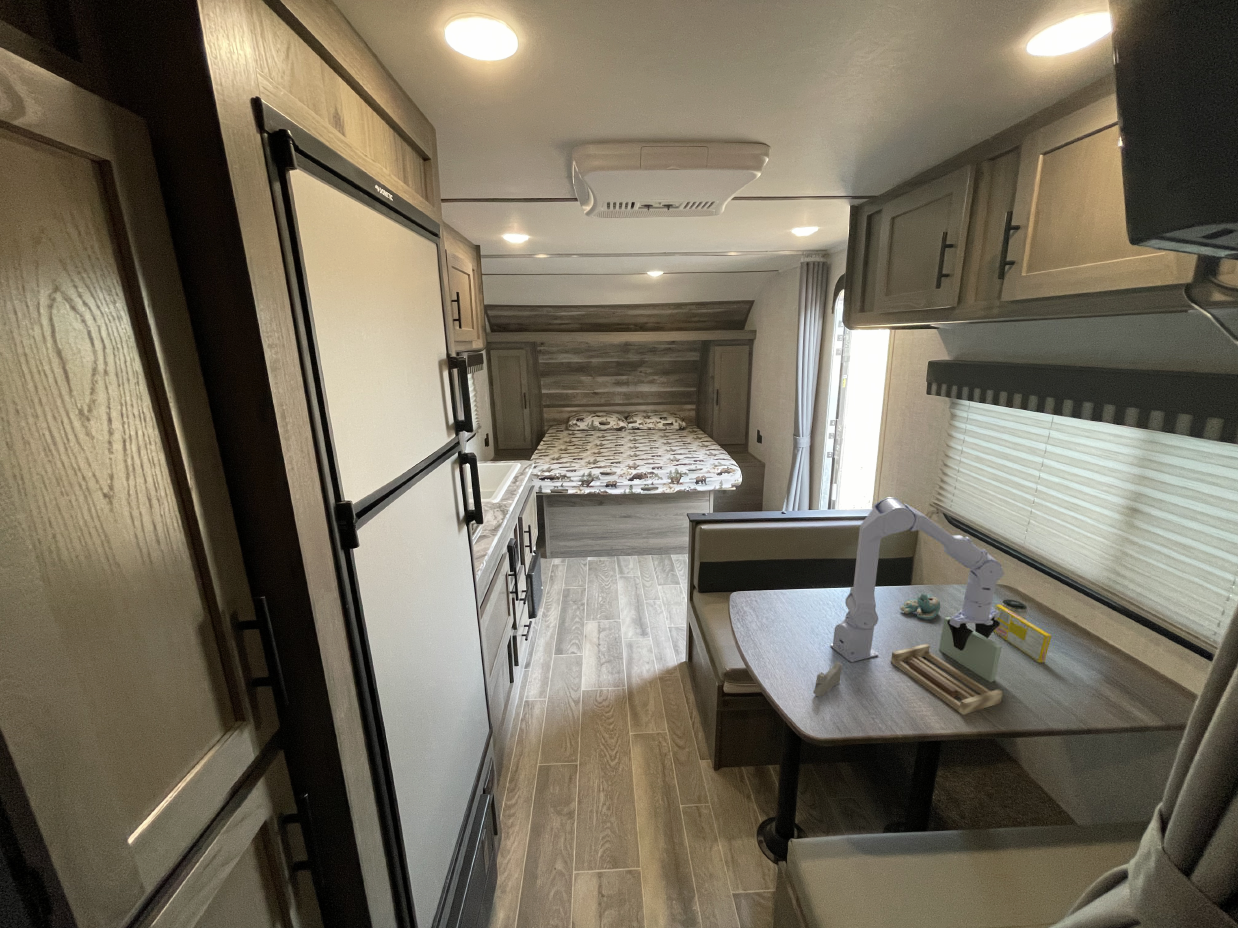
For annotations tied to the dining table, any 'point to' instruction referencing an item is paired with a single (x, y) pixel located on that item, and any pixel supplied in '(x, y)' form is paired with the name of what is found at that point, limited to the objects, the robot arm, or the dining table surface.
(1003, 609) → the candy box
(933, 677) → the offcut stack
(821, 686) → the beige angular flat piece
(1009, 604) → the dark lidded jar
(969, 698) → the offcut rack
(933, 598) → the stuffed animal
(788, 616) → the dining table surface
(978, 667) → the large sage green box
